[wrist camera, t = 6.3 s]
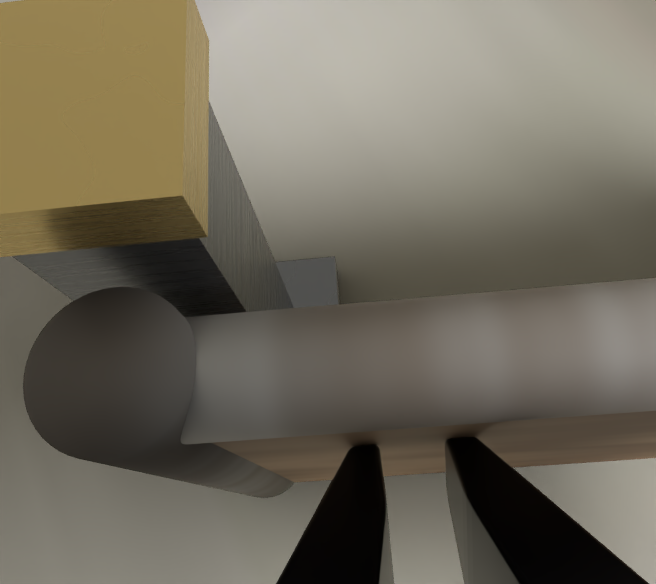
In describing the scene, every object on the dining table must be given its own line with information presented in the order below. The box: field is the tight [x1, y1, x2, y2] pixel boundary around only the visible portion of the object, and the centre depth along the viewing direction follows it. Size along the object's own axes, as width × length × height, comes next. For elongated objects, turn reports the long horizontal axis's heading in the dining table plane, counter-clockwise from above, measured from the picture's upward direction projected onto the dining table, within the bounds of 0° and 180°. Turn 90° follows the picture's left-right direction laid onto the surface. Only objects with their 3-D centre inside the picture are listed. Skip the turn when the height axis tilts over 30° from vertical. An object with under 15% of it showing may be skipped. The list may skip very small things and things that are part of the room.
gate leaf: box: [23, 278, 656, 498], centre depth 10 cm, size 14×2×9 cm, turn 93°
